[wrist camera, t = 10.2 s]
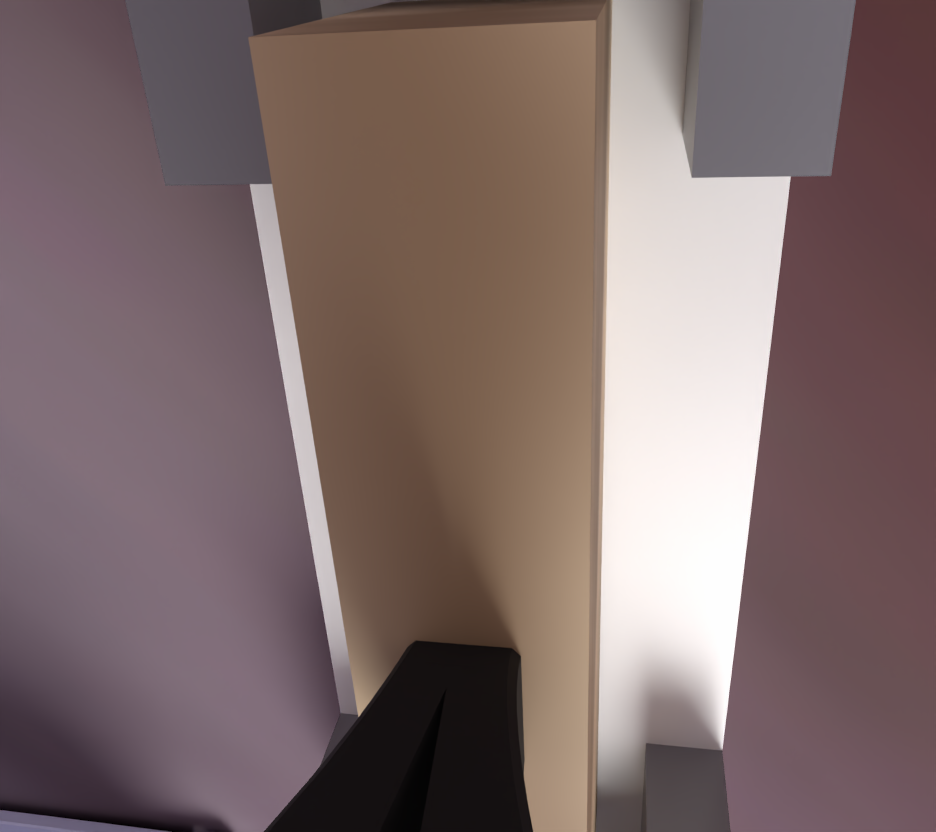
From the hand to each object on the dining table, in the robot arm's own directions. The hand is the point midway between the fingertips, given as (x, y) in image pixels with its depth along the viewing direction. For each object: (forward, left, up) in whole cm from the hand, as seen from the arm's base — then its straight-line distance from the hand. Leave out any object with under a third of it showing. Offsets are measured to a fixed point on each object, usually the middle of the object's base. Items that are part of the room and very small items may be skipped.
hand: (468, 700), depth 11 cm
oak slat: (0, 0, -5) cm, 5 cm away
